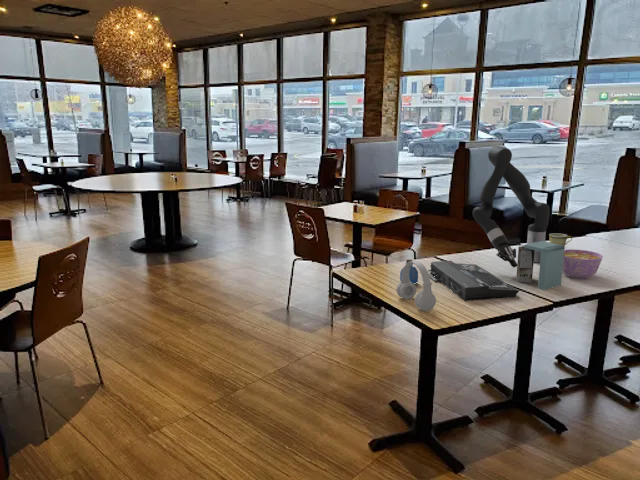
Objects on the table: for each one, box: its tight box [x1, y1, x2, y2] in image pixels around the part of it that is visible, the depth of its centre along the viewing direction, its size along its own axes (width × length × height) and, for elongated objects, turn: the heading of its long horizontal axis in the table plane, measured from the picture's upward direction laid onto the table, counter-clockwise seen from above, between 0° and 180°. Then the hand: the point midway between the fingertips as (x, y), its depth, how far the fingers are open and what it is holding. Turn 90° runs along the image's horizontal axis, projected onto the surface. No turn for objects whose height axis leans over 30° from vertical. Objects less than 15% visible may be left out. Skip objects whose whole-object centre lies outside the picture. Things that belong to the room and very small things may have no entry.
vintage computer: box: [427, 260, 520, 302], centre depth 234 cm, size 43×29×8 cm
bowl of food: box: [562, 249, 604, 280], centre depth 243 cm, size 20×20×12 cm
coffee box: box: [516, 245, 535, 283], centre depth 239 cm, size 9×6×16 cm
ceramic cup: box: [548, 232, 573, 247], centre depth 292 cm, size 13×10×10 cm
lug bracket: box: [524, 241, 566, 291], centre depth 231 cm, size 13×12×20 cm
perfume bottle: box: [399, 259, 419, 284], centre depth 238 cm, size 6×6×12 cm
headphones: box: [396, 260, 437, 312], centre depth 209 cm, size 20×8×19 cm, turn 21°
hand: (515, 266), depth 245 cm, fingers closed
